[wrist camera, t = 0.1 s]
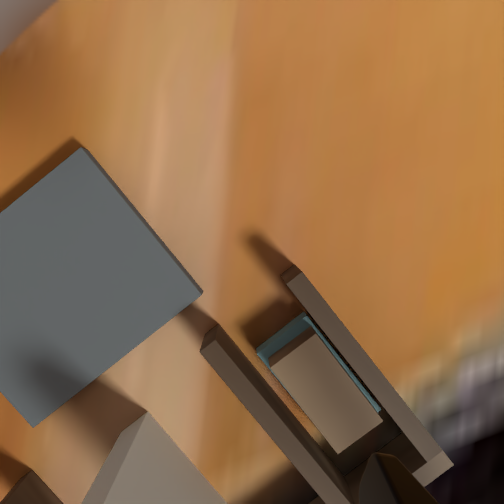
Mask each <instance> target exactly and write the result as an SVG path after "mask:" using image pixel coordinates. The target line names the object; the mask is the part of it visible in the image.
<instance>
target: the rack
mask: <svg viewBox="0 0 504 504" xmlns="http://www.w3.org/2000/svg"><path fill="white" fill-rule="evenodd" d="M281 277H282V278H283V280H284V281H285V283H286V285H287V286H288V287H289V288H290V290H291V291H292V292H293V293H294V295H295V296H296V297H297V298H298V300H299V301H300V302H301V303H302V305H303V306H304V307H305V308H306V310H307V311H308V312H309V314H310V315H311V316H312V317H313V319H314V320H315V321H316V322H317V324H318V325H319V326H320V327H321V329H322V330H323V331H324V332H325V334H326V335H327V336H328V338H329V339H330V340H331V341H332V343H333V344H334V345H335V346H336V348H337V349H338V350H339V351H340V353H341V354H342V355H343V356H344V358H345V359H346V360H347V362H348V363H349V364H350V365H351V367H352V368H353V369H354V370H355V372H356V373H357V374H358V375H359V377H360V378H361V379H362V380H363V382H364V383H365V384H366V385H367V387H368V388H369V389H370V391H371V392H372V393H373V394H374V396H375V397H376V398H377V399H378V401H379V402H380V403H381V404H382V406H383V407H384V408H385V409H386V411H387V412H388V413H389V415H390V416H391V417H392V418H393V420H394V421H395V422H396V423H397V425H398V426H399V427H400V428H401V430H402V431H403V433H401V434H400V435H399V436H397V437H396V438H395V439H393V440H392V441H391V442H389V443H388V444H387V445H385V446H384V447H383V448H381V449H380V450H379V451H377V452H378V453H384V454H390V455H393V456H395V457H396V458H398V459H399V460H400V462H401V463H402V464H403V465H404V466H405V467H406V468H407V469H408V470H409V471H410V472H411V474H412V475H413V476H414V477H415V478H416V479H417V480H418V481H419V482H420V483H421V484H422V486H423V487H425V486H426V485H428V484H429V483H430V482H432V481H433V480H434V479H436V478H437V477H438V476H440V475H441V474H442V473H444V472H445V471H446V470H448V469H449V468H450V467H452V466H453V465H454V464H453V463H452V462H451V461H450V459H449V458H448V457H447V456H446V454H445V453H444V452H443V450H442V449H441V448H440V447H439V445H438V444H437V443H436V442H435V440H434V439H433V438H432V436H431V435H430V434H429V433H428V431H427V430H426V429H425V428H424V426H423V425H422V424H421V422H420V421H419V420H418V419H417V417H416V416H415V415H414V413H413V412H412V411H411V410H410V408H409V407H408V406H407V405H406V403H405V402H404V401H403V399H402V398H401V397H400V396H399V394H398V393H397V392H396V391H395V389H394V388H393V387H392V385H391V384H390V383H389V382H388V380H387V379H386V378H385V377H384V375H383V374H382V373H381V371H380V370H379V369H378V368H377V366H376V365H375V364H374V363H373V361H372V360H371V359H370V357H369V356H368V355H367V354H366V352H365V351H364V350H363V349H362V347H361V346H360V345H359V343H358V342H357V341H356V340H355V338H354V337H353V336H352V335H351V333H350V332H349V331H348V329H347V328H346V327H345V326H344V324H343V323H342V322H341V320H340V319H339V318H338V317H337V315H336V314H335V313H334V312H333V310H332V309H331V308H330V306H329V305H328V304H327V303H326V301H325V300H324V299H323V298H322V296H321V295H320V294H319V292H318V291H317V290H316V289H315V287H314V286H313V285H312V284H311V282H310V281H309V280H308V278H307V277H306V276H305V275H304V273H303V272H302V271H301V270H300V269H299V268H298V267H297V266H296V265H295V264H294V265H293V266H292V267H290V268H289V269H288V270H286V271H285V272H284V273H283V274H281ZM200 353H201V354H202V356H203V357H204V358H205V359H206V360H207V362H208V363H209V364H210V365H211V366H212V368H213V369H214V370H215V371H216V372H217V374H218V375H219V376H220V377H221V378H222V380H223V381H224V382H225V383H226V384H227V386H228V387H229V388H230V389H231V390H232V392H233V393H234V394H235V395H236V396H237V398H238V399H239V400H240V401H241V402H242V404H243V405H244V406H245V407H246V408H247V410H248V411H249V412H250V413H251V414H252V416H253V417H254V418H255V419H256V420H257V422H258V423H259V424H260V425H261V426H262V428H263V429H264V430H265V431H266V432H267V434H268V435H269V436H270V437H271V438H272V440H273V441H274V442H275V443H276V444H277V446H278V447H279V448H280V449H281V450H282V452H283V453H284V454H285V455H286V456H287V458H288V459H289V460H290V461H291V462H292V464H293V465H294V466H295V467H296V468H297V470H298V471H299V472H300V473H301V474H302V476H303V477H304V478H305V479H306V480H307V482H308V483H309V484H310V485H311V486H312V488H313V489H314V490H315V491H316V492H317V494H318V495H319V496H318V497H317V498H315V499H314V500H313V501H311V502H310V503H309V504H359V486H360V482H361V479H362V476H363V474H364V471H365V468H366V466H367V463H368V460H369V458H368V459H367V460H366V461H364V462H363V463H362V464H360V465H359V466H358V467H356V468H355V469H354V470H352V471H351V472H350V473H348V474H347V475H346V476H343V475H342V473H341V472H340V471H339V470H338V468H337V467H336V466H335V465H334V464H333V462H332V461H331V460H330V459H329V457H328V456H327V455H326V454H325V453H324V451H323V450H322V449H321V448H320V446H319V445H318V444H317V443H316V442H315V440H314V439H313V438H312V437H311V436H310V434H309V433H308V432H307V431H306V429H305V428H304V427H303V426H302V425H301V423H300V422H299V421H298V420H297V418H296V417H295V416H294V415H293V414H292V412H291V411H290V410H289V409H288V407H287V406H286V405H285V404H284V403H283V401H282V400H281V399H280V398H279V397H278V395H277V394H276V393H275V392H274V390H273V389H272V388H271V387H270V386H269V384H268V383H267V382H266V381H265V379H264V378H263V377H262V376H261V375H260V373H259V372H258V371H257V370H256V368H255V367H254V366H253V365H252V364H251V362H250V361H249V360H248V359H247V358H246V356H245V355H244V354H243V353H242V351H241V350H240V349H239V348H238V347H237V345H236V344H235V343H234V342H233V340H232V339H231V338H230V337H229V336H228V334H227V333H226V332H225V331H224V329H223V328H222V327H221V326H220V325H219V324H218V325H216V326H215V327H214V328H212V329H211V330H210V331H209V332H207V333H206V334H205V336H204V339H203V343H202V346H201V349H200ZM0 504H63V503H62V502H61V501H60V500H59V499H58V498H57V497H56V496H55V494H54V493H53V492H52V491H51V490H50V489H49V488H48V487H47V486H46V485H45V484H44V482H43V481H42V480H41V479H40V478H39V477H38V476H37V475H36V474H35V473H34V471H33V470H31V471H30V472H29V473H28V474H26V475H25V476H24V477H22V478H21V479H20V480H19V481H18V482H17V483H16V484H15V486H14V487H13V488H12V489H11V490H10V492H9V493H8V494H7V495H6V496H5V497H4V499H3V500H2V501H1V502H0Z"/></svg>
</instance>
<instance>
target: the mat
mask: <svg viewBox="0 0 504 504" xmlns="http://www.w3.org/2000/svg"><path fill="white" fill-rule="evenodd" d="M202 293H203V290H202V289H201V288H200V286H199V285H198V284H197V283H196V282H195V280H194V279H193V278H192V277H191V275H190V274H189V273H188V272H187V271H186V269H185V268H184V267H183V266H182V264H181V263H180V262H179V261H178V260H177V258H176V257H175V256H174V255H173V253H172V252H171V251H170V250H169V249H168V247H167V246H166V245H165V244H164V242H163V241H162V240H161V239H160V238H159V236H158V235H157V234H156V233H155V231H154V230H153V229H152V228H151V227H150V225H149V224H148V223H147V222H146V220H145V219H144V218H143V217H142V216H141V214H140V213H139V212H138V211H137V209H136V208H135V207H134V206H133V204H132V203H131V202H130V201H129V200H128V198H127V197H126V196H125V195H124V193H123V192H122V191H121V190H120V189H119V187H118V186H117V185H116V184H115V182H114V181H113V180H112V179H111V178H110V176H109V175H108V174H107V173H106V171H105V170H104V169H103V168H102V167H101V165H100V164H99V163H98V162H97V160H96V159H95V158H94V157H93V156H92V154H91V153H90V152H89V151H88V150H86V149H84V148H82V147H80V148H79V149H78V150H77V151H75V152H74V153H73V154H72V155H71V156H69V157H68V158H67V159H66V160H64V161H63V162H62V163H61V164H60V165H58V166H57V167H56V168H55V169H53V170H52V171H51V172H50V173H49V174H47V175H46V176H45V177H44V178H42V179H41V180H40V181H39V182H38V183H36V184H35V185H34V186H33V187H31V188H30V189H29V190H28V191H27V192H25V193H24V194H23V195H22V196H20V197H19V198H18V199H17V200H16V201H14V202H13V203H12V204H11V205H9V206H8V207H7V208H6V209H5V210H3V211H2V212H1V213H0V392H1V393H2V394H3V395H4V396H5V397H6V398H7V400H8V401H9V402H10V403H11V404H12V405H13V406H14V407H15V408H16V410H17V411H18V412H19V413H20V414H21V415H22V416H23V417H24V418H25V420H26V421H27V422H28V423H29V424H30V425H31V426H32V427H33V428H34V427H35V426H36V425H37V424H39V423H40V422H41V421H42V420H44V419H45V418H46V417H48V416H49V415H50V414H51V413H53V412H54V411H55V410H56V409H58V408H59V407H60V406H61V405H63V404H64V403H65V402H67V401H68V400H69V399H70V398H72V397H73V396H74V395H75V394H77V393H78V392H79V391H80V390H82V389H83V388H84V387H86V386H87V385H88V384H89V383H91V382H92V381H93V380H94V379H96V378H97V377H98V376H99V375H101V374H102V373H103V372H105V371H106V370H107V369H108V368H110V367H111V366H112V365H113V364H115V363H116V362H117V361H119V360H120V359H121V358H122V357H124V356H125V355H126V354H127V353H129V352H130V351H131V350H132V349H134V348H135V347H136V346H138V345H139V344H140V343H141V342H143V341H144V340H145V339H146V338H148V337H149V336H150V335H151V334H153V333H154V332H155V331H157V330H158V329H159V328H160V327H162V326H163V325H164V324H165V323H167V322H168V321H169V320H170V319H172V318H173V317H174V316H176V315H177V314H178V313H179V312H181V311H182V310H183V309H184V308H186V307H187V306H188V305H189V304H191V303H192V302H193V301H195V300H196V299H197V298H198V297H200V296H201V295H202Z"/></svg>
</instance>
